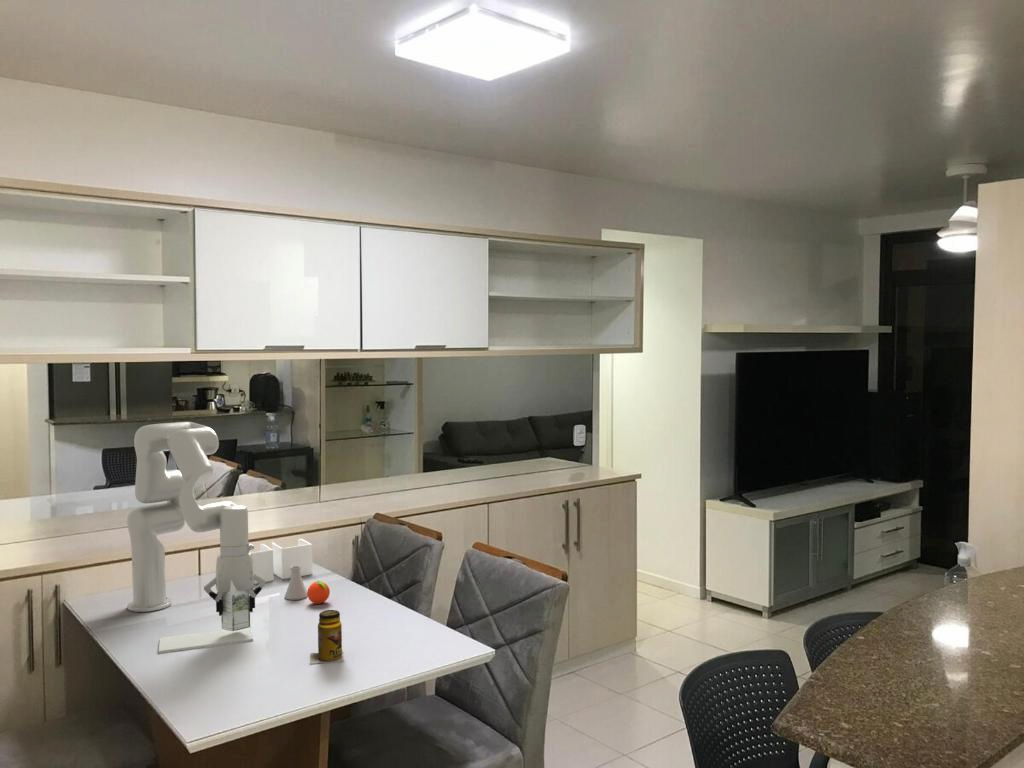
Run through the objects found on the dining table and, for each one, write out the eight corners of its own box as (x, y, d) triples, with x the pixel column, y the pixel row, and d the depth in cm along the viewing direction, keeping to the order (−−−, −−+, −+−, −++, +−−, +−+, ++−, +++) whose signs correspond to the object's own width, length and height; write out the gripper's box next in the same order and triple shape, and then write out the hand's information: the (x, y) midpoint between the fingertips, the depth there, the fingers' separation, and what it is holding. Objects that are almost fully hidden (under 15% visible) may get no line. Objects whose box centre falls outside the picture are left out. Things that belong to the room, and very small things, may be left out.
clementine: (336, 603, 265) (335, 581, 264) (317, 608, 260) (317, 586, 259) (321, 598, 270) (321, 576, 270) (303, 603, 265) (302, 581, 265)
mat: (160, 639, 233) (160, 637, 233) (250, 628, 242) (250, 626, 242) (158, 653, 223) (158, 650, 223) (253, 641, 231) (253, 638, 231)
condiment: (343, 661, 216) (343, 615, 215) (309, 664, 214) (309, 618, 213) (343, 651, 223) (342, 607, 222) (310, 654, 221) (309, 609, 220)
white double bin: (242, 586, 286) (241, 554, 286) (232, 579, 295) (232, 548, 295) (312, 574, 300) (311, 544, 300) (301, 568, 309) (301, 538, 309)
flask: (280, 599, 270) (279, 568, 270) (294, 593, 277) (293, 563, 276) (298, 601, 267) (298, 570, 267) (312, 595, 274) (311, 565, 274)
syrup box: (239, 624, 239) (237, 573, 240) (251, 627, 235) (249, 575, 236) (221, 629, 235) (219, 577, 235) (232, 632, 231) (231, 578, 232)
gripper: (265, 544, 241) (266, 605, 242) (201, 550, 234) (202, 612, 235) (268, 550, 234) (269, 612, 235) (201, 556, 227) (202, 620, 228)
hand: (235, 612), depth 235 cm, fingers closed on syrup box, 7 cm apart
